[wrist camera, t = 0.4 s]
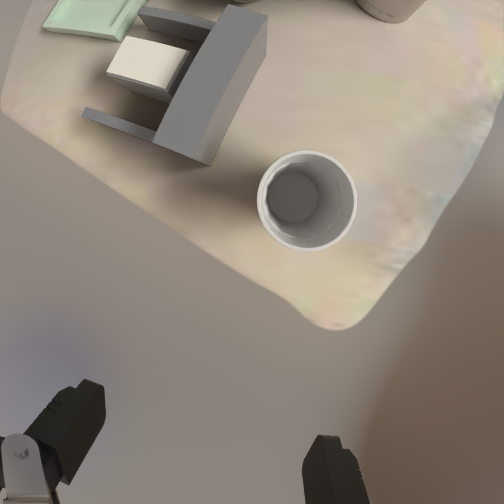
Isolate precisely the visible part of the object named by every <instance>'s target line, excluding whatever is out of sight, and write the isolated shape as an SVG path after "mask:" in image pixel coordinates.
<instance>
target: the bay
mask: <svg viewBox="0 0 504 504" xmlns="http://www.w3.org/2000/svg"><path fill="white" fill-rule="evenodd" d="M137 14H138V15H139V17H140V18H141V19H142V21H143V22H144V23H145V25H146V26H147V27H148V29H149V30H151V31H156V32H160V33H164V34H169V35H173V36H177V37H181V38H184V39H188V40H192V41H195V42H199V43H202V44H203V45H202V46H201V48H200V50H199V51H198V53H197V55H196V56H195V58H194V60H193V62H192V64H191V65H190V67H189V69H188V71H187V72H186V74H185V76H184V78H183V80H182V82H181V84H180V85H179V87H178V89H177V91H176V93H175V95H174V97H173V99H172V101H171V103H170V105H169V107H168V109H167V111H166V113H165V115H164V117H163V119H162V121H161V124H160V126H159V128H158V130H157V132H156V131H153V130H150V129H148V128H145V127H142V126H140V125H137V124H134V123H131V122H129V121H126V120H123V119H120V118H117V117H114V116H112V115H109V114H106V113H103V112H100V111H97V110H94V109H91V108H88V107H85V109H84V111H83V114H82V117H85V118H87V119H90V120H93V121H96V122H99V123H101V124H104V125H107V126H110V127H113V128H115V129H118V130H121V131H123V132H126V133H129V134H131V135H134V136H137V137H139V138H142V139H144V140H147V141H150V142H152V143H155V144H157V145H160V146H162V147H165V148H167V149H170V150H172V151H175V152H177V153H180V154H182V155H184V156H187V157H189V158H192V159H194V160H196V161H199V162H201V163H204V164H206V165H208V166H211V163H212V161H213V159H214V157H215V155H216V153H217V150H218V148H219V146H220V144H221V142H222V140H223V138H224V136H225V134H226V132H227V130H228V127H229V125H230V123H231V121H232V119H233V117H234V115H235V113H236V111H237V109H238V107H239V105H240V103H241V101H242V99H243V97H244V96H245V94H246V92H247V90H248V88H249V86H250V84H251V82H252V80H253V78H254V76H255V75H256V73H257V71H258V69H259V67H260V65H261V63H262V62H263V60H264V58H265V56H266V38H267V21H268V16H266V15H263V14H260V13H257V12H254V11H251V10H248V9H244V8H241V7H238V6H234V5H231V4H228V5H227V7H226V8H225V10H224V11H223V13H222V14H221V16H220V17H219V19H218V20H217V22H214V21H210V20H206V19H203V18H199V17H195V16H190V15H186V14H182V13H177V12H172V11H167V10H162V9H157V8H151V7H145V6H142V7H141V9H140V10H139V12H138V13H137Z"/></svg>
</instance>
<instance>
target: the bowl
mask: <svg viewBox="0 0 504 504" xmlns="http://www.w3.org/2000/svg"><path fill="white" fill-rule="evenodd" d="M233 1H236V2H240V3H252V2H257V1H260V0H233Z"/></svg>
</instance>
